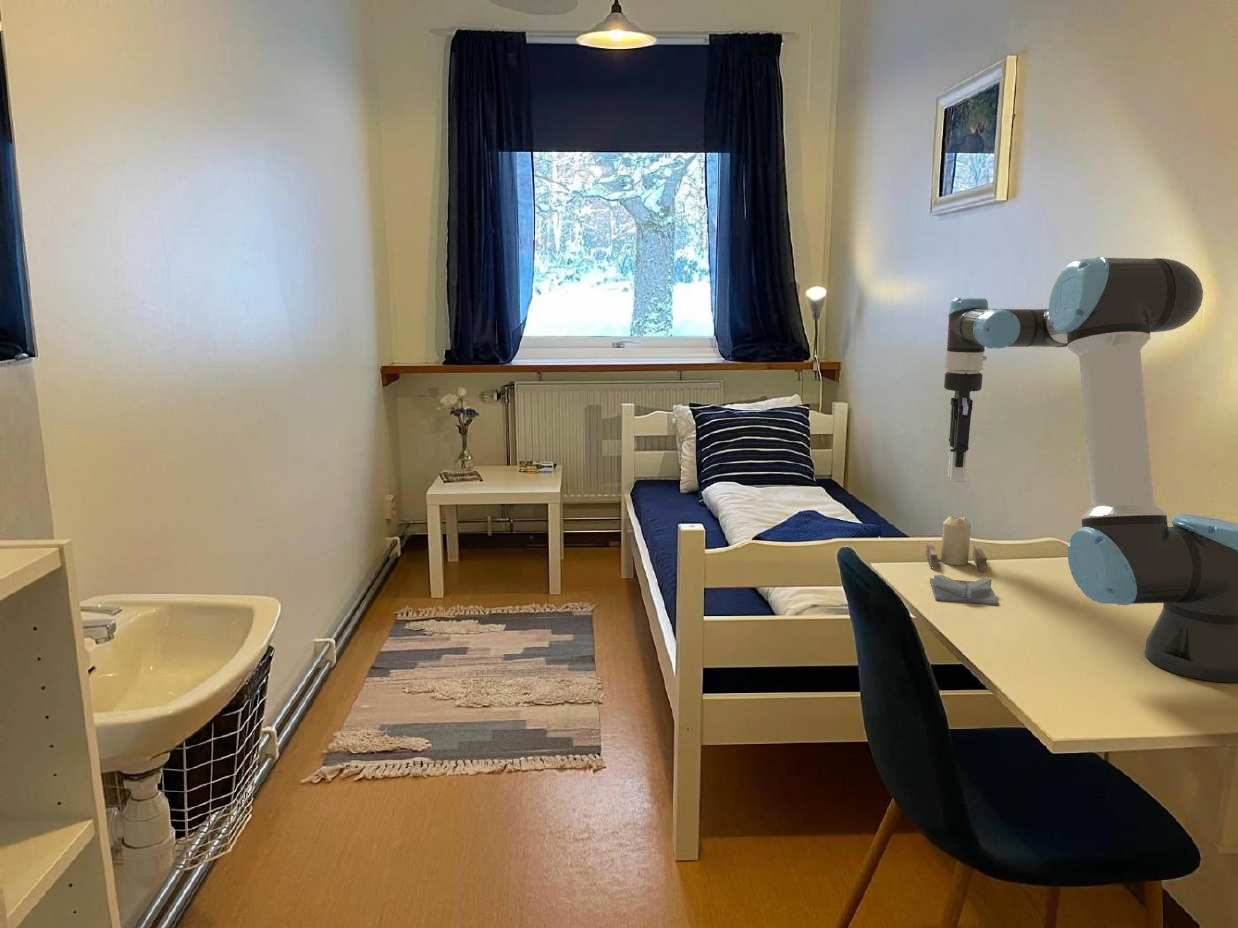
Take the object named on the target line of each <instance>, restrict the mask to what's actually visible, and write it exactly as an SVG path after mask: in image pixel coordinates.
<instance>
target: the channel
mask: <svg viewBox="0 0 1238 928" xmlns="http://www.w3.org/2000/svg"><path fill="white" fill-rule="evenodd" d="M972 546H973V549H972V560H973V562H974V563H975V565H976V567H977V569H978V571H979V572H980V573H986V572H987V560H988V558H987V556H986V554H985V553H984V550H983V548H982V547H981V545H980V544H975V543H974V544H973V545H972ZM925 556H926V560H927V563H928V566H929V565H930V566H929V568H930V567H933V568H936V569H937V565H938V552H937V551H936V547H935V545H934V543H933V541H926V547H925Z"/></svg>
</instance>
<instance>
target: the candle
mask: <svg viewBox="0 0 1238 928" xmlns="http://www.w3.org/2000/svg"><path fill="white" fill-rule="evenodd" d="M971 528H972V524H971V522H970V521H969V520H968V519H967V517H966V516H953V515H949V516H948V517H947V518H946V519H945V520H944V521H943V525H942V537H941V538H942V539H941V550H940V562H941V563H944V564H946V565H951V566H965V565H967V564H969V563H968V562H969V554H970V544H971V543H970V541H971V530H972V529H971Z"/></svg>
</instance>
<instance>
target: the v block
mask: <svg viewBox="0 0 1238 928" xmlns="http://www.w3.org/2000/svg"><path fill="white" fill-rule="evenodd" d="M992 579H993V578H992ZM992 579H991V578H989V577H987V578H986V577H982V578H979V579H977V580H974V581H973V580H961V579H960V580H959V579H953V578H950V577H948V576H945V575H943V574H935V575H934V576H933V578H932V577H931V578H929V584H931V585H930V587H932V588H931V591H932V590H933V591H932V593H933V597H934V600H935V601H938V600H940V601H942V602H953V603H969V604H979V605H980V604H981V605H994V606H995V605H996V606H998V605H999V600H998V598H997V596H996V594H995V592H994V590H993V588H992Z"/></svg>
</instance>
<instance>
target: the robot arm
mask: <svg viewBox="0 0 1238 928" xmlns="http://www.w3.org/2000/svg"><path fill="white" fill-rule="evenodd" d="M1203 298H1204V290H1203V284H1202V283H1201V280H1200V278H1199V276H1198V275H1197V273H1196V272H1195V271H1194V270H1193V269H1192V268H1191V267H1190V266H1188V265H1186V264H1184V263H1182V262H1181V261H1177V260H1176V259H1175V260H1174V259H1168V258H1165V257H1164V258H1160V257H1159V258H1158V257H1155V258H1154V257H1153V258H1140V257H1139V258H1136V257H1134V258H1132V257H1131V258H1129V257H1127V258H1126V257H1105V256H1099V257H1094V258H1080V259H1076V260H1074V261H1072V262H1070V263H1069V264H1067V265H1066V266H1065V267H1064V268H1063V270H1061V272H1060V273H1059V275H1058V276H1057V278H1056V281H1055V283H1054V284H1053V286H1052V290H1051V291H1050V296H1049V302H1048V308H1040V309H1039V308H1035V309H1031V308H1029V309H1028V308H1025V309H1023V308H1020V309H1019V308H989V301H988V299H986V298H983V297H955V298H953V299H952V300H951V302H950V306H949V313H948V315H947V316H948V325H947V327H948V330H947V347H946V351H945V352H946V353H945V366H944V367H945V368H944V369H945V370H947V371H946V372H945V373H944V384H943V385H944V386H943V388H944V389H945V390H947V391H953V392H954V396H953V397H951V399H950V405H951V409H950V423H949V424H950V426H949V427H950V428H949V437H948V442H949V446H950V447H949V454H948V455H949V456H948V457H949V458H948V468H947V478H950V479H949V480H950V482H957V483H965V473H966V462H967V461H966V460H967V459H966V458H967V452H968V451H969V440H970V429H971V418H972V416H971V415H972V410H973V403H974V402H973V399H972V398H971V392H979V391H981V390H982V386H983V373H982V372H981V371H982V370H983V369H984V361H987V358H988V357H987V355H985V347H986V348H987V349H1003V348H1026V347H1027V348H1029V347H1032V348H1033V347H1039V348H1040V347H1041V348H1042V347H1043V348H1045V347H1048V348H1049V347H1051V348H1053V347H1055V348H1066V347H1067V348H1068V350H1070V351H1071V352H1072V353H1074V354H1075V355H1076V356H1077V357H1078V358H1079V370H1080V383H1081V394H1082V395H1081V396H1082V406H1083V418H1084V419H1083V420H1084V422H1083V423H1084V433H1085V445H1086V456H1087V470H1088V482H1089V492H1090V493H1089V494H1090V495H1089V496H1090V507H1089V509H1088V510H1087V511H1085V513H1084V514H1083V515H1082V516H1081V528H1078V529H1077V530H1075V531H1074V532H1073V533H1072V534H1071V536H1070V538H1069V543H1068V545H1067V560H1068V562H1067V563H1068V566H1069V570H1070V574H1071V576H1072V578H1073V580H1074V583H1075V584H1076V585H1077V587H1078V588H1079V589H1080V591H1081V592H1082V593H1083V595H1085V596H1086V597H1087V598H1088V599H1090V600H1092V601H1093V602H1096V603H1098V604H1107V605H1108V604H1111V605H1113V604H1114V605H1119V606H1129V605H1134V604H1135V605H1136V604H1137V605H1138V604H1163V606H1162V608H1161V611H1160V614H1159V615H1158V618H1157V619H1156V622H1155V623H1154V625H1153V627H1152V629H1151V630H1150V633H1149V634H1148V636H1147V638H1146V641H1145V647H1144V656H1145V657H1146V659H1148V661H1150V662H1151V663H1152V664H1153V665H1155V666H1156V667H1159V668H1161V669H1164V670H1165V671H1168V672H1171V673H1174V674H1178V675H1179V676H1183V677H1184V676H1185V677H1187V678H1192V679H1196V680H1201V681H1208V682H1215V683H1238V523H1235V522H1233V521H1232V522H1231V521H1228V520H1224V519H1219V518H1215V517H1210V516H1204V515H1198V514H1189V513H1188V514H1187V513H1179V514H1176V515H1175V516H1174V517H1173V520H1172V521H1171V524H1172V526H1169V525H1168V515H1167V513H1166V512H1165V511H1164V510H1162V509H1161V508H1160V507H1159V506H1158V505H1157V504H1156V503H1155V498H1154V487H1153V476H1152V467H1151V465H1152V464H1151V455H1150V445H1149V443H1150V441H1149V433H1148V432H1149V431H1148V422H1147V421H1148V419H1147V409H1146V399H1145V398H1146V397H1145V387H1144V376H1143V375H1144V374H1143V365H1142V355H1141V354H1142V353H1141V350H1142V349H1143V348H1144V346H1145V345H1146V344H1147V343H1148V342H1149V341H1150V340H1151V333H1161V332H1168V331H1169V332H1170V331H1173V330H1176V329H1178V328H1180V327H1183V326H1185V325H1186V324H1188V323H1189V322H1190V321H1191V320H1193V318H1194V317H1195V316H1196V315H1197V313H1198V312H1199V310H1200V308H1201V306H1202V302H1203Z"/></svg>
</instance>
